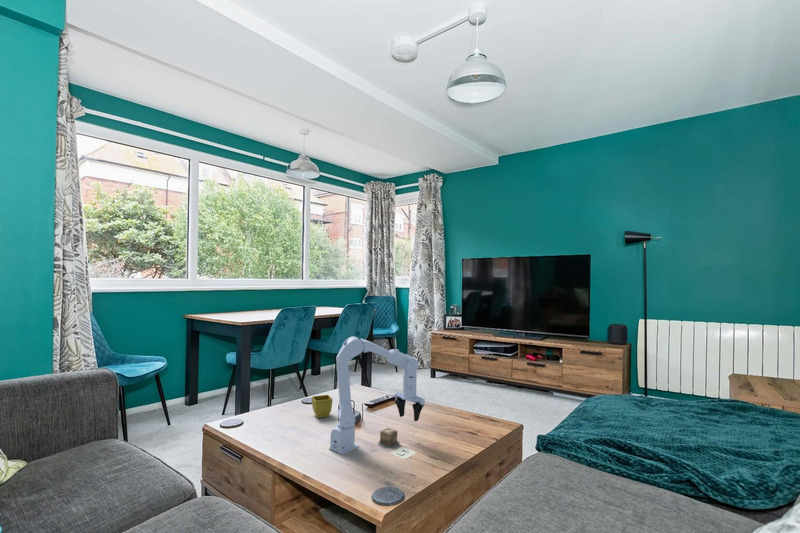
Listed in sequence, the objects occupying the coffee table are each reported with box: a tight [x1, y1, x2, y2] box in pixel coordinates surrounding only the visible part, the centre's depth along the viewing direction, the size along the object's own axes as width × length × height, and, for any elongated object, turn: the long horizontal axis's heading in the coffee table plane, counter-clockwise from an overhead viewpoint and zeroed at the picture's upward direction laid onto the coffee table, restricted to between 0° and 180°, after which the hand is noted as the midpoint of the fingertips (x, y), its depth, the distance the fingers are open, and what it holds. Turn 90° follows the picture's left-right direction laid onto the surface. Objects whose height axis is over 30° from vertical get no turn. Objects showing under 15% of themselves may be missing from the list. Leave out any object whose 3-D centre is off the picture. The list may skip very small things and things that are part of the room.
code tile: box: [388, 446, 418, 460], centre depth 156 cm, size 8×8×1 cm
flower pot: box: [311, 394, 333, 419], centre depth 197 cm, size 9×9×9 cm
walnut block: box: [379, 427, 398, 447], centre depth 165 cm, size 5×5×5 cm
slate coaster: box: [377, 440, 401, 449], centre depth 165 cm, size 9×9×1 cm
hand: (409, 418), depth 167 cm, fingers open, 7 cm apart
